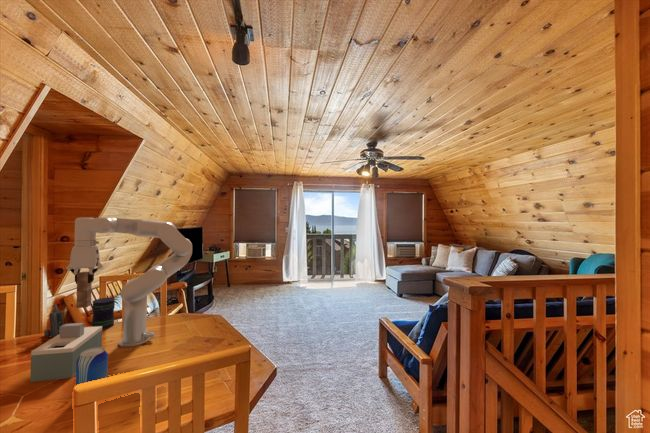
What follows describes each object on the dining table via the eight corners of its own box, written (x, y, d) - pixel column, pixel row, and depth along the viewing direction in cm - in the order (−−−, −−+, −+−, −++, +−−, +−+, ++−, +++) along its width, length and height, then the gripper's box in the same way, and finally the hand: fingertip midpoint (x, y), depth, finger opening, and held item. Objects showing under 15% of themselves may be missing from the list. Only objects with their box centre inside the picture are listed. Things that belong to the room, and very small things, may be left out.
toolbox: (101, 351, 129) (102, 329, 129) (71, 377, 107) (72, 351, 107) (67, 353, 125) (68, 331, 125) (30, 382, 104) (31, 355, 104)
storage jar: (87, 328, 153) (88, 301, 154) (107, 322, 163) (108, 296, 163) (98, 331, 150) (99, 303, 150) (118, 325, 159) (119, 298, 159)
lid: (102, 329, 129) (102, 315, 129) (72, 351, 107) (73, 335, 107) (68, 331, 125) (68, 317, 125) (31, 355, 104) (31, 337, 104)
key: (91, 304, 133) (91, 271, 133) (86, 307, 129) (87, 273, 129) (80, 305, 132) (81, 271, 132) (76, 308, 128) (77, 273, 128)
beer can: (87, 390, 100) (89, 345, 100) (112, 389, 101) (113, 345, 101) (68, 406, 92) (69, 357, 92) (95, 405, 92) (96, 357, 93)
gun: (47, 306, 146) (62, 303, 140) (50, 339, 144) (65, 337, 138) (40, 308, 144) (55, 304, 138) (43, 341, 142) (58, 339, 136)
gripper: (109, 242, 137) (109, 280, 137) (67, 243, 131) (66, 281, 131) (103, 244, 130) (102, 283, 130) (58, 244, 124) (57, 285, 124)
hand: (84, 282), depth 130 cm, fingers closed on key, 4 cm apart
